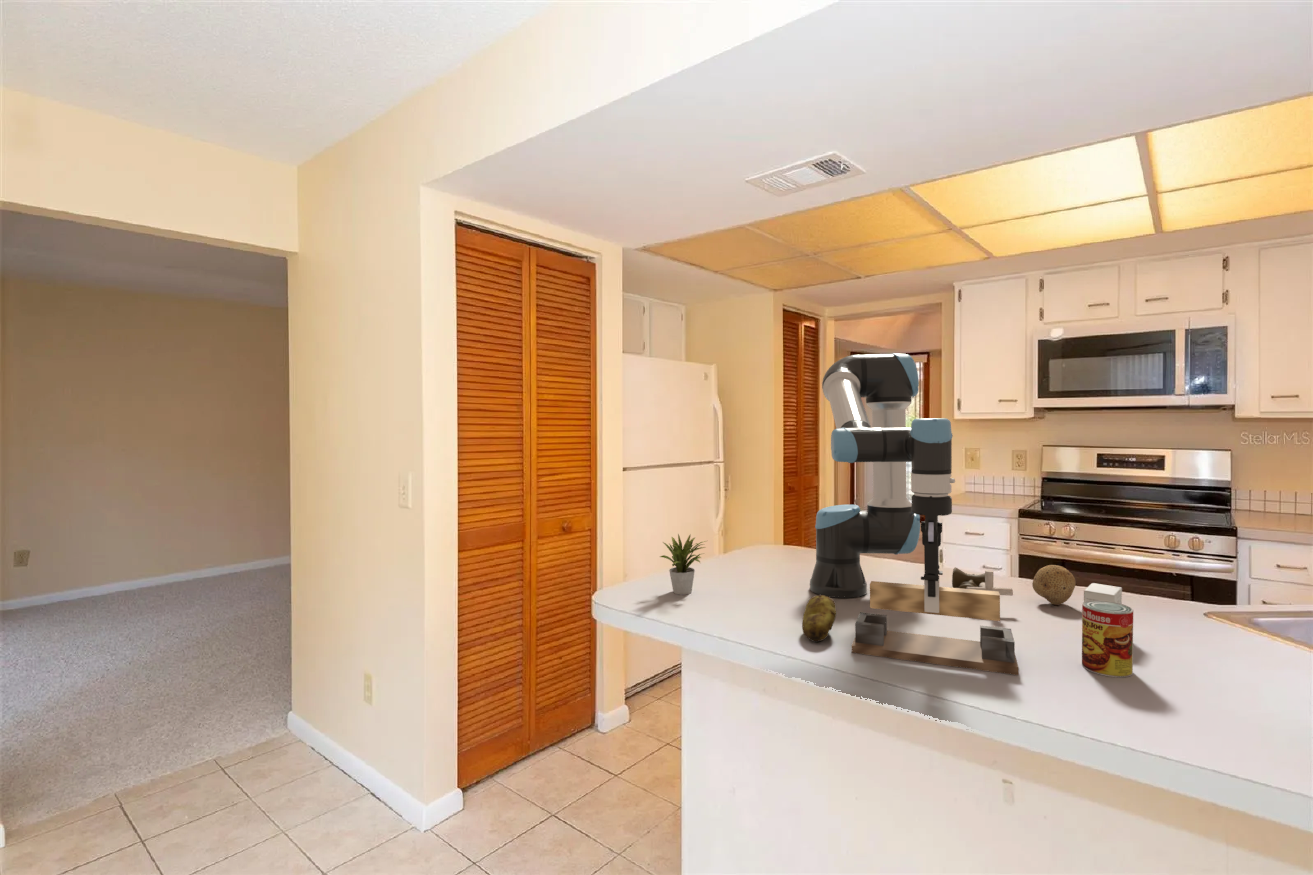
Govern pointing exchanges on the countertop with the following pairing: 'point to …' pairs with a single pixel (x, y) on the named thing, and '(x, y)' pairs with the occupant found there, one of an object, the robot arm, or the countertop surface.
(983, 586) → the pipe connector
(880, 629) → the end cap board
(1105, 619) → the canned food
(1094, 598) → the small box
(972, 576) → the kendama
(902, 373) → the robot arm
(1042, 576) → the natural sponge
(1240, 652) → the countertop surface
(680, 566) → the house plant
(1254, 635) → the countertop surface
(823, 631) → the potato
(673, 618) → the countertop surface
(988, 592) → the oak slat
